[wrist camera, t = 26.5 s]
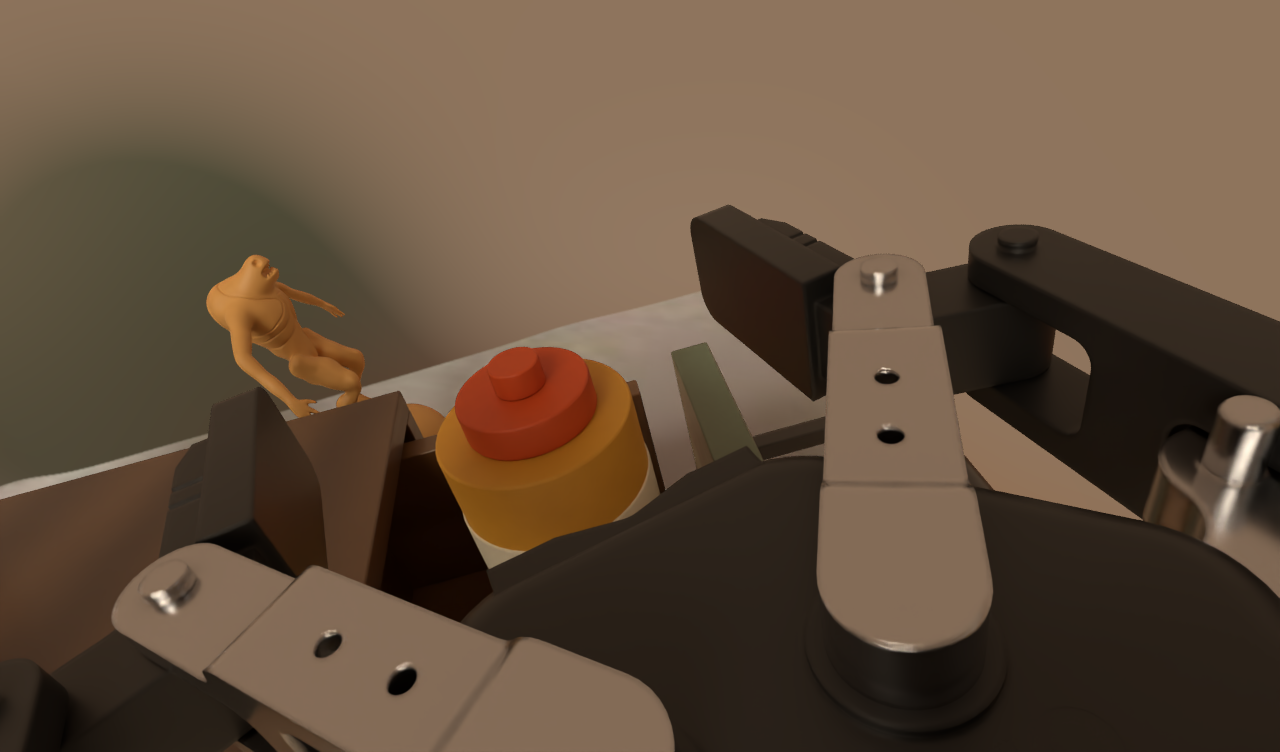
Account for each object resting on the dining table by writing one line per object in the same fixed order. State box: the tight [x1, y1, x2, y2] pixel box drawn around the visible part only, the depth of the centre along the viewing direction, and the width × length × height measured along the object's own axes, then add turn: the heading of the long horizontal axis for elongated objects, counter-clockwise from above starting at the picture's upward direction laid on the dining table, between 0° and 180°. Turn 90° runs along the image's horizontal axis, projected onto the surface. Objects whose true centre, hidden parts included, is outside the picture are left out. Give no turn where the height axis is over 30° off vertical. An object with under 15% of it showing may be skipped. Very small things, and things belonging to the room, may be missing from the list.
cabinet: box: [0, 391, 423, 752], centre depth 20 cm, size 14×12×9 cm
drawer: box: [381, 343, 993, 623], centre depth 21 cm, size 18×10×7 cm, turn 100°
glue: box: [436, 347, 660, 569], centre depth 19 cm, size 5×5×10 cm
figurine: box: [207, 255, 445, 438], centre depth 29 cm, size 8×6×12 cm
